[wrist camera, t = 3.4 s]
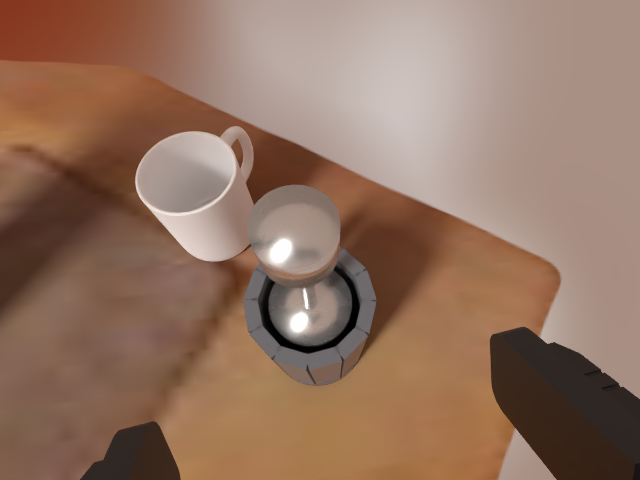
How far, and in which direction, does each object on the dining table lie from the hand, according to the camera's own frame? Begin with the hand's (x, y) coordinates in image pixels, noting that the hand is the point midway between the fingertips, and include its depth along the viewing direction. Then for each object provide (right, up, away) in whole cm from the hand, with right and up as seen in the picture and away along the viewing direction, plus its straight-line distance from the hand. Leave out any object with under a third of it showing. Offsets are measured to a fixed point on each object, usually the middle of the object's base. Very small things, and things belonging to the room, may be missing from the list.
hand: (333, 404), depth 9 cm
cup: (-10, +7, +32) cm, 34 cm away
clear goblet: (-1, -1, +16) cm, 16 cm away
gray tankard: (-1, -4, +26) cm, 27 cm away
